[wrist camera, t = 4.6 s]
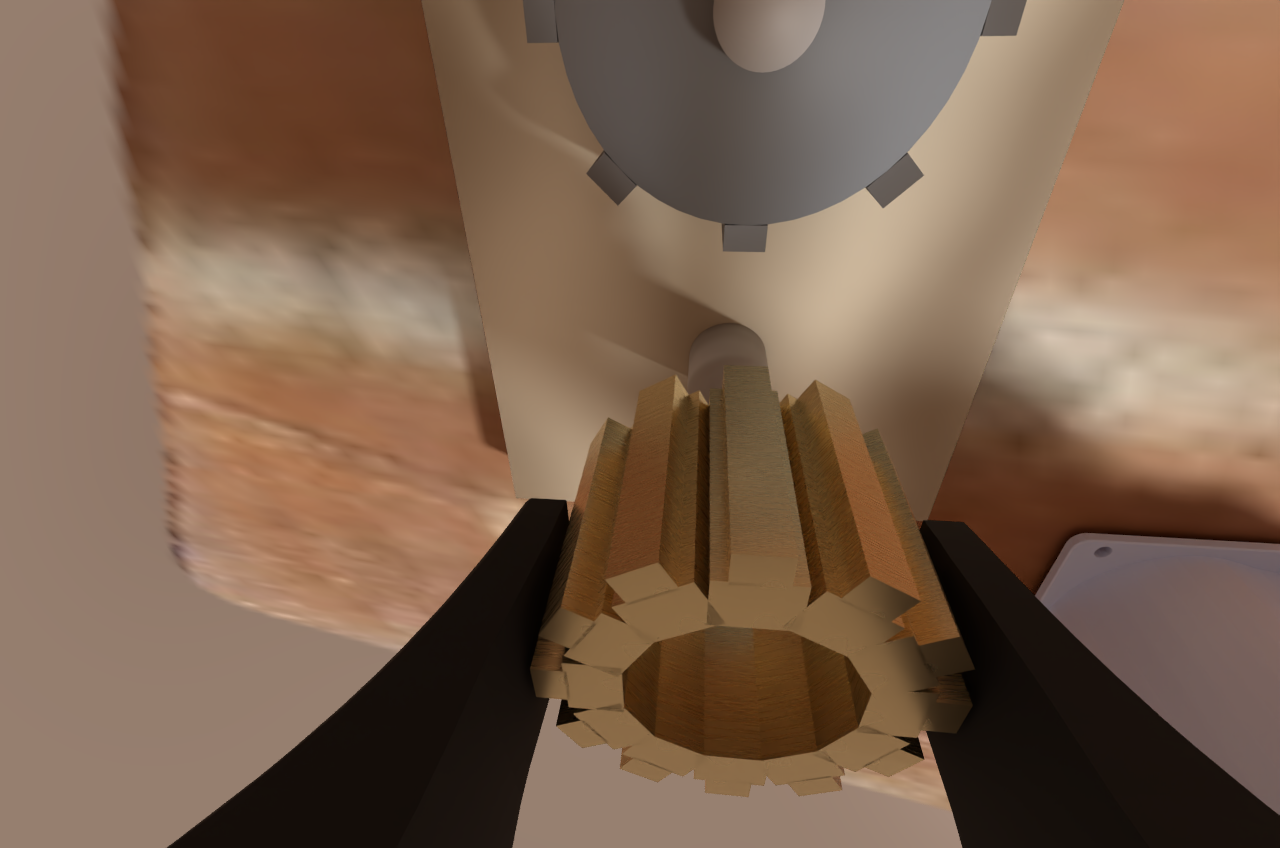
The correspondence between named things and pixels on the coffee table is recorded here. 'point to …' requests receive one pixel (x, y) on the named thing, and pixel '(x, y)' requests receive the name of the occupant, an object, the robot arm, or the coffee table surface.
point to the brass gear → (748, 596)
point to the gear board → (798, 290)
